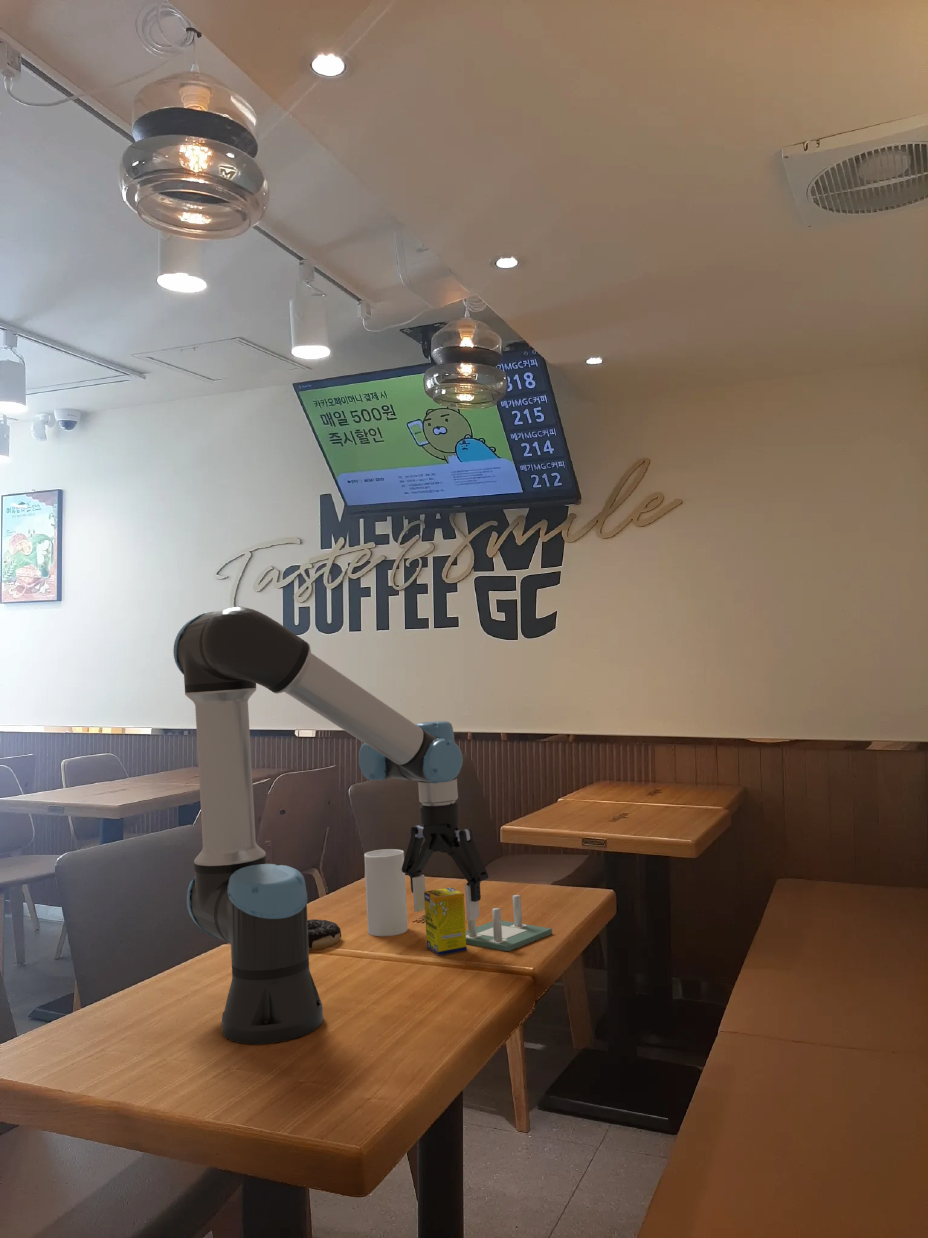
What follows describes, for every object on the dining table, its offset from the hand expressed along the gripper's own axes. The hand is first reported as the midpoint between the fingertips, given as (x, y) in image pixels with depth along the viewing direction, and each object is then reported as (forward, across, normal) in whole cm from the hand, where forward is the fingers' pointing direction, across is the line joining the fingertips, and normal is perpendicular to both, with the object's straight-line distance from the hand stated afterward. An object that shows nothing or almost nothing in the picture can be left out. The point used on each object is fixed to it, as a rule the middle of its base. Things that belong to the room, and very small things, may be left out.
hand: (446, 914), depth 183 cm
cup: (+7, +20, -4) cm, 21 cm away
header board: (+7, -4, -12) cm, 14 cm away
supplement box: (+7, 0, 0) cm, 7 cm away
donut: (+7, +27, +10) cm, 30 cm away
